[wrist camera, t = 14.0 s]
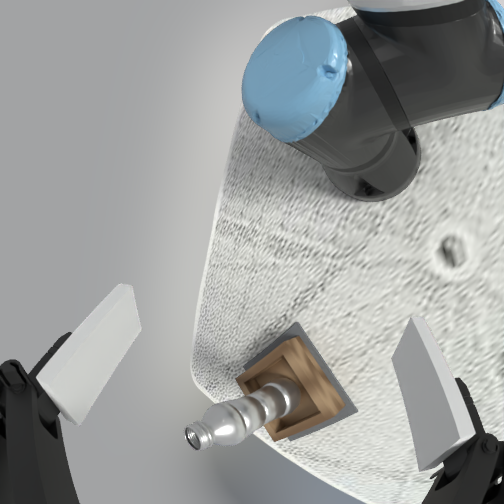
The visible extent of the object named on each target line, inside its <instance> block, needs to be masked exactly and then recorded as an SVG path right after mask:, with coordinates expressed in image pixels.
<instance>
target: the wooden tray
mask: <svg viewBox="0 0 504 504" xmlns="http://www.w3.org/2000/svg"><path fill="white" fill-rule="evenodd" d="M277 378H287V379H290V380H292V381H293V382H295V383H296V384H297V386H298V387H299V389H300V393H301V400H300V404H299V406H298V407H297V408H296V409H295V410H294V411H293V412H292V413H290V414H288V415H286V416H283V417H280V418H277V419H275V420H273V421H271V422H269V423H267V424H265V425H264V427H265V429H266V430H267V432H268V433H269V435H270V436H271V438H272V439H273V441H274V442H275V441H278V440H281V439H284V438H286V437H289V436H292V435H294V434H297V433H299V432H301V431H304V430H306V429H309V428H311V427H313V426H315V425H318V424H320V423H322V422H324V421H326V420H329V419H331V418H333V417H334V416H335V415H336V414H337V413H338V412H340V411H341V410H342V409H343V408H344V406H345V403H344V402H343V400H342V399H341V397H340V396H339V394H338V393H337V391H336V390H335V388H334V387H333V385H332V384H331V382H330V381H329V379H328V378H327V376H326V375H325V373H324V372H323V370H322V369H321V367H320V366H319V364H318V363H317V362H316V360H315V359H314V357H313V356H312V354H311V353H310V351H309V350H308V348H307V347H306V345H305V344H304V342H303V341H302V339H301V338H300V336H297V337H295V338H292V339H289V340H287V341H284V342H283V343H282V344H280V345H279V346H278V347H277V348H275V349H274V350H273V351H272V352H270V353H269V354H268V355H266V356H265V357H264V358H263V359H261V360H260V361H259V362H257V363H256V364H255V365H253V366H252V367H251V368H249V369H248V370H247V371H245V372H244V373H243V374H241V375H240V376H239V377H237V378H236V381H237V383H238V385H239V386H240V388H241V390H242V391H243V393H244V395H245V396H246V395H249V394H251V393H253V392H255V391H257V390H258V389H260V388H262V387H263V386H264V385H265V384H267V383H268V382H270V381H271V380H273V379H277Z"/></svg>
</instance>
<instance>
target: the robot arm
mask: <svg viewBox="0 0 504 504" xmlns="http://www.w3.org/2000/svg"><path fill="white" fill-rule="evenodd" d="M348 2H349V4H350V5H351V6H352V8H353V9H354V10H355V12H356V13H357V15H356V16H353V17H351V18H349V19H347V20H344V21H342V22H340V23H337V24H333V23H331V22H330V21H327V20H325V19H323V18H321V17H317V16H306V17H305V18H304V17H296V18H293V19H290V20H288V21H286V22H284V23H282V24H280V25H279V26H277V27H276V28H275V29H273V30H272V31H271V32H270V33H269V34H267V35H266V36H265V38H264V39H263V40H262V41H261V42H260V43H259V45H258V46H257V48H256V49H255V50H254V52H253V54H252V55H251V58H250V60H249V62H248V64H247V66H246V69H245V72H244V76H243V80H242V100H243V104H244V107H245V109H246V112H247V113H248V115H249V117H250V118H251V119H252V120H253V121H254V122H255V123H256V124H257V125H259V126H260V127H262V128H263V129H265V130H266V131H268V132H270V134H271V135H272V136H273V137H274V138H276V139H278V140H279V141H282V142H284V143H286V144H288V145H290V146H292V147H294V148H296V149H297V150H299V151H301V152H303V153H305V154H306V155H308V156H310V157H312V158H313V159H315V160H317V161H318V162H320V163H321V164H322V166H323V168H324V170H325V172H326V174H327V176H328V177H329V179H330V180H331V181H332V183H333V184H334V185H335V186H336V187H337V188H338V189H340V190H341V191H343V192H344V193H346V194H348V195H349V196H351V197H353V198H356V199H358V200H362V201H369V202H376V201H383V200H387V199H389V198H392V197H394V196H396V195H398V194H399V193H401V192H402V191H403V190H404V189H406V188H407V187H408V185H409V184H410V183H411V182H412V180H413V179H414V177H415V175H416V173H417V171H418V168H419V165H420V159H421V148H420V142H419V139H418V136H417V134H416V131H415V129H414V126H418V125H421V124H425V123H429V122H433V121H437V120H441V119H445V118H450V117H454V116H458V115H463V114H467V113H472V112H477V111H486V110H490V109H493V108H494V107H496V106H498V105H502V104H504V9H503V7H502V6H501V5H500V4H499V3H498V2H497V1H496V0H348ZM141 330H142V328H141V324H140V320H139V315H138V311H137V306H136V301H135V297H134V292H133V287H132V285H126V284H121V283H119V284H118V285H117V286H116V287H115V288H114V290H112V291H111V293H109V295H108V296H107V297H106V298H105V299H104V300H103V301H102V302H101V303H100V304H99V305H98V306H97V307H96V308H95V309H94V310H93V311H92V313H91V314H90V315H89V316H88V317H87V318H86V319H85V320H84V321H83V322H82V323H81V325H80V326H79V327H78V328H77V329H76V330H75V331H74V332H73V333H71V332H68V333H66V334H65V335H63V336H61V337H60V338H59V339H58V340H57V341H56V342H55V344H54V345H53V347H51V348H50V349H49V350H48V353H46V354H45V355H44V356H43V357H42V358H41V360H40V361H39V362H38V363H37V364H36V366H35V367H34V368H33V369H32V371H31V372H30V373H29V374H28V375H27V373H26V372H25V370H24V368H23V367H22V365H21V364H20V362H19V361H17V360H8V361H5V362H4V363H3V364H1V366H0V504H80V503H79V500H78V497H77V494H76V491H75V487H74V484H73V481H72V477H71V473H70V469H69V465H68V461H67V457H66V452H65V447H64V442H63V437H62V431H61V425H60V420H59V417H58V414H59V413H60V412H61V413H62V414H63V416H64V417H65V418H66V419H67V420H69V421H70V422H72V423H74V424H76V425H78V426H80V425H81V424H82V422H83V420H84V419H85V417H86V415H87V413H88V412H89V410H90V409H91V407H92V405H93V404H94V402H95V400H96V399H97V397H98V396H99V394H100V392H101V391H102V389H103V388H104V386H105V384H106V383H107V381H108V380H109V378H110V376H111V375H112V373H113V372H114V370H115V369H116V367H117V366H118V364H119V363H120V361H121V360H122V358H123V356H124V355H125V354H126V352H127V351H128V349H129V348H130V346H131V344H132V343H133V341H134V340H135V339H136V337H137V336H138V334H139V333H140V331H141ZM391 359H392V362H393V365H394V368H395V372H396V375H397V378H398V382H399V385H400V389H401V392H402V396H403V400H404V404H405V407H406V411H407V415H408V419H409V424H410V428H411V432H412V437H413V442H414V446H415V451H416V457H417V462H418V468H419V472H420V471H424V470H428V469H432V468H435V467H436V466H438V465H439V464H440V463H442V462H443V464H444V467H443V468H441V469H440V470H438V471H437V472H436V473H434V474H433V475H432V476H431V477H430V479H433V478H434V477H436V476H437V475H438V476H437V477H436V479H435V480H434V483H433V485H432V487H431V488H430V490H429V492H428V494H427V495H426V497H425V499H424V500H423V502H422V504H504V441H498V440H497V438H496V437H495V436H494V435H492V434H489V433H485V431H484V428H483V425H482V423H481V420H480V417H479V415H478V412H477V409H476V407H475V405H474V404H473V403H474V402H473V400H472V397H470V393H469V390H468V388H467V386H466V385H465V383H464V382H463V381H462V380H461V379H460V378H454V376H453V374H452V372H451V370H450V367H449V365H448V363H447V361H446V359H445V357H444V355H443V353H442V351H441V349H440V347H439V345H438V343H437V341H436V339H435V337H434V335H433V333H432V331H431V329H430V327H429V326H428V324H427V322H426V320H425V318H424V317H410V320H409V322H408V324H407V327H406V329H405V331H404V333H403V336H402V338H401V340H400V342H399V344H398V346H397V348H396V350H395V352H394V354H393V356H392V358H391ZM501 476H502V481H501V483H499V484H498V478H500V477H501Z"/></svg>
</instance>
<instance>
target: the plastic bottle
mask: <svg viewBox="0 0 504 504" xmlns="http://www.w3.org/2000/svg"><path fill="white" fill-rule="evenodd" d="M300 400H301V393H300V389H299V387H298V386H297V384H296V383H295V382H293V381H292V380H290V379H287V378H277V379H273V380H271V381H270V382H268V383H267V384H265V385H264V386H263V387H262V388H260V389H258V390H257V391H255V392H253V393H251V394H249V395H246V396H244V397H241V398H238V399H234V400H230V401H225V402H220V403H217V404H214V405H213V406H211V407H210V408H209V409H208V410H207V411H206V413H205V414H204V416H203V418H202V420H201V421H197V422H194V423H193V424H191V425H188V426H186V427H185V428H184V436H185V439H186V441H187V442H188V444H189V445H190V447H191V448H193V449H194V450H195V451H201V450H203V449H205V448H209V447H211V446H212V445H213V444H216V445H221V446H232V445H236V444H238V443H240V442H241V441H243V440H244V439H245V438H247V437H248V436H249V435H251V434H252V433H253V432H254V431H256V430H257V429H259V428H261V427H262V426H264V425H265V424H267V423H269V422H271V421H273V420H275V419H277V418H280V417H283V416H286V415H288V414H290V413H292V412H293V411H294V410H295V409H296V408H297V407H298V406H299V404H300Z"/></svg>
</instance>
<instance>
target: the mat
mask: <svg viewBox="0 0 504 504" xmlns="http://www.w3.org/2000/svg"><path fill="white" fill-rule="evenodd" d="M297 336H300V338H301V339H302V341H303V342H304V344H305V345H306V347H307V348H308V350H309V351H310V353H311V354H312V356H313V357H314V359H315V360H316V362H317V363H318V364H319V366H320V367H321V369H322V370H323V372H324V373H325V375H326V376H327V378H328V379H329V381H330V382H331V384H332V385H333V387H334V388H335V390H336V391H337V393H338V394H339V396H340V397H341V399H342V400H343V402H344V403H345V406H344V408H343V409H342V410H341V411H340V412H338V413H337V414H336V415H335V416H334V417H333V418H331V419H329V420H326V421H324V422H322V423H320V424H318V425H315V426H313V427H311V428H309V429H306V430H304V431H301V432H299V433H297V434H294V435H292V436H289V437H288V439H289V440H290V441H292V440H295V439H298V438H300V437H303V436H305V435H308V434H310V433H313V432H315V431H318V430H320V429H322V428H325V427H327V426H329V425H331V424H334V423H336V422H338V421H340V420H342V419H344V418H346V417H348V416H350V415H352V414H354V413H356V412H358V410H357V409H356V407H355V406H354V404H353V403H352V401H351V400H350V398H349V397H348V395H347V394H346V392H345V391H344V389H343V388H342V386H341V385H340V383H339V382H338V380H337V379H336V378H335V376H334V375H333V373H332V372H331V370H330V369H329V367H328V366H327V364H326V363H325V361H324V360H323V358H322V357H321V355H320V354H319V352H318V351H317V349H316V348H315V346H314V345H313V344H312V342H311V341H310V339H309V338H308V336H307V335H306V333H305V332H304V330H303V329H302V327H301V326H300V324H299V323H298V322H296V323H295V324H294V325H293V326H292V327H291V328H290V329H288V330H287V331H286V332H285V333H284V334H282V335H281V336H280V337H279V338H278V339H277V340H275V341H274V342H273V343H272V344H270V345H269V346H268V347H267V348H266V349H264V350H263V351H262V352H261V353H259V354H258V355H257V356H256V357H254V358H253V359H252V360H251V361H249V362H248V363H247V364H245V365H244V366H243V367H244V369H245V370H246V371H247V370H248V369H249V368H251V367H252V366H253V365H255V364H256V363H257V362H259V361H260V360H261V359H263V358H264V357H265V356H266V355H268V354H269V353H270V352H272V351H273V350H274V349H275V348H277V347H278V346H279V345H280V344H282V343H283V342H284V341H287V340H289V339H292V338H295V337H297Z"/></svg>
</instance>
